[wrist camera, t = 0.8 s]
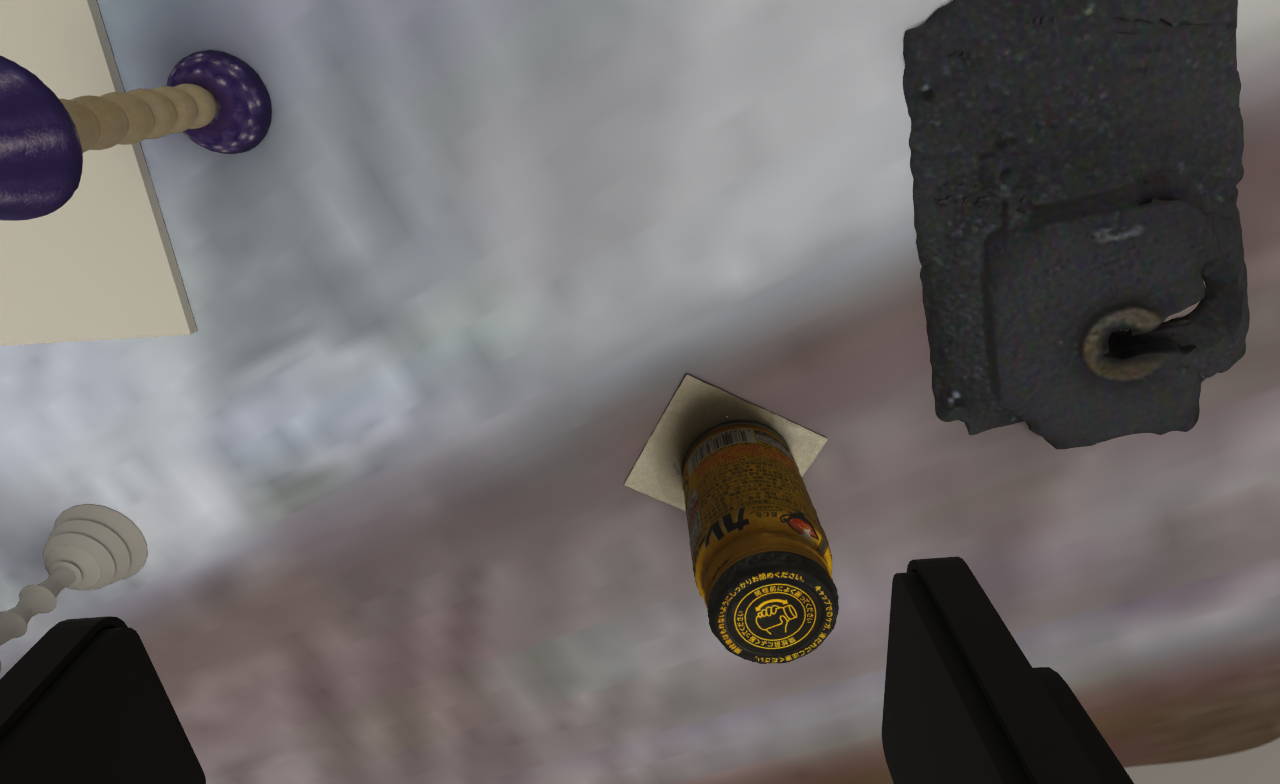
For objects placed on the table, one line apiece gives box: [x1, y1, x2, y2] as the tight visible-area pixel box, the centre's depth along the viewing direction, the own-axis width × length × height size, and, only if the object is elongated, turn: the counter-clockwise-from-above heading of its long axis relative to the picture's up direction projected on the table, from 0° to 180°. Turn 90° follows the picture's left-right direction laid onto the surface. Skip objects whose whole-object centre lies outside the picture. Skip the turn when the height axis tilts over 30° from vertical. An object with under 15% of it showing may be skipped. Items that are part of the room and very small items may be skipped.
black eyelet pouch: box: [903, 0, 1249, 449], centre depth 34 cm, size 15×22×5 cm
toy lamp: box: [0, 50, 271, 221], centre depth 26 cm, size 5×5×17 cm
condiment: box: [624, 375, 839, 664], centre depth 35 cm, size 7×8×12 cm
